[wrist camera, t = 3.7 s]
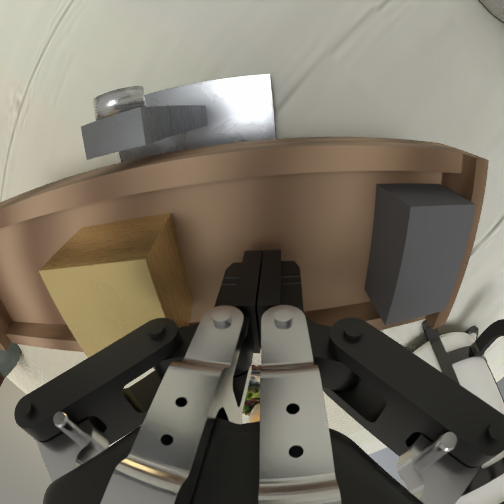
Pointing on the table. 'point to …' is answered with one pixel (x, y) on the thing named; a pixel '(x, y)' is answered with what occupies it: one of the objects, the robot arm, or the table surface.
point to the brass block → (119, 279)
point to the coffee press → (477, 382)
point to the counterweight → (416, 249)
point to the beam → (233, 220)
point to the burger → (253, 395)
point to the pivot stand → (181, 117)
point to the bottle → (8, 360)
